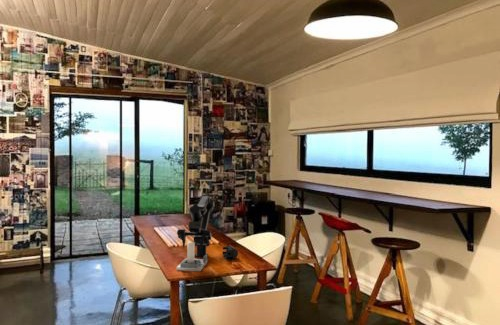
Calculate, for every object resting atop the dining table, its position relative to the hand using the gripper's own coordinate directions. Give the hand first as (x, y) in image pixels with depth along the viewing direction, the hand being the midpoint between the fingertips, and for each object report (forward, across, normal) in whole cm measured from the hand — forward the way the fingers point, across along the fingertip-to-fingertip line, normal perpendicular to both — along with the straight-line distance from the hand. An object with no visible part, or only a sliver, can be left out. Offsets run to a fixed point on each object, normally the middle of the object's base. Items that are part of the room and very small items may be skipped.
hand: (191, 247), depth 223 cm
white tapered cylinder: (+9, 0, +6) cm, 11 cm away
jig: (+5, 0, +10) cm, 11 cm away
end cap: (-8, +18, +24) cm, 31 cm away
